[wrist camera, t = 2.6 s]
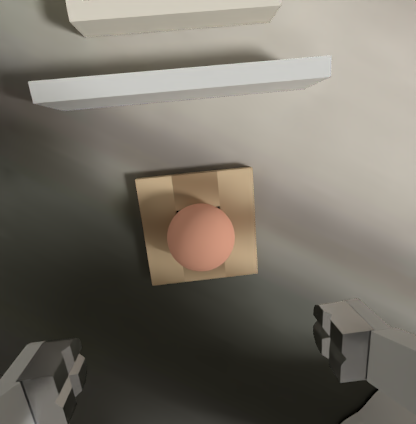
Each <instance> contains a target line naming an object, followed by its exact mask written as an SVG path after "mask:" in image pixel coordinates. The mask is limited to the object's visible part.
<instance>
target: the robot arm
mask: <svg viewBox="0 0 416 424" xmlns="http://www.w3.org/2000/svg"><path fill="white" fill-rule="evenodd" d="M313 315H314V316H315V318H316V319H317V321H316V323H315V324H314V325H313V335H314V339H315V343H316V345H317V347H318V349H319V351H320V353H321V354H322V355H323V356H325V357H327V358H328V359H329V367H330V368H331V370H332V371H333V373H334V374H335V376H336V377H337V379H338V380H339V382H340V383H344V382H352V381H360V380H367V382H369V383H370V384H371V385H373V386H374V387H376V388H377V389H379V390H378V391H377V392H376V393H375V394H374V395H373V396H372V397H371V398H370V400H369V401H368V402H367V403H366V404H365V406H364V407H363V408H362V409H361V410H360V411H359V412H357V413H355V414H354V415H352V416H351V417H349V418H347V419H346V420H344V421H343V422H342V423H341V424H416V335H414V334H412V333H409V332H407V331H404V330H402V329H399V328H397V327H395V328H391V327H390V326H389V325H388V324H387V323H386V322H384V321H383V320H382V319H381V318H380V317H379V316H378V315H377V314H375V313H374V312H373V311H372V310H371V309H370V308H369V307H368V306H367V305H365V304H364V303H363V302H362V301H361V300H360V299H357V298H354V299H348V300H343V301H339V302H332V303H325V304H318V305H315V306H314V313H313ZM81 349H82V345H81V342H80V339H79V338H77V337H74V338H65V339H56V340H47V341H40V342H32V343H30V344H28V345H26V346H25V348H24V349H23V350H22V352H21V353H20V354H19V355H18V357H17V358H16V359H15V361H14V362H13V363H12V365H11V366H10V367H9V368H8V370H7V371H6V372H5V374H4V375H3V376H2V378H1V379H0V424H69V422H70V419H71V417H72V414H73V412H74V410H75V407H76V405H77V402H76V399H75V397H76V396H77V395H78V394H79V393H80V392H81V391H82V390H83V387H84V384H85V382H86V375H87V364H86V360H85V358H84V357H83V356H82V355H80V354H79V353H80V351H81Z"/></svg>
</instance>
